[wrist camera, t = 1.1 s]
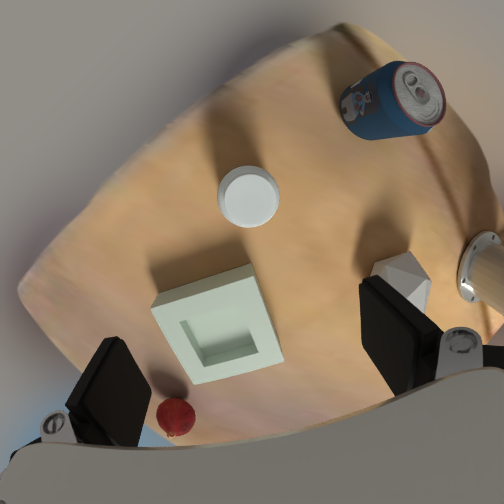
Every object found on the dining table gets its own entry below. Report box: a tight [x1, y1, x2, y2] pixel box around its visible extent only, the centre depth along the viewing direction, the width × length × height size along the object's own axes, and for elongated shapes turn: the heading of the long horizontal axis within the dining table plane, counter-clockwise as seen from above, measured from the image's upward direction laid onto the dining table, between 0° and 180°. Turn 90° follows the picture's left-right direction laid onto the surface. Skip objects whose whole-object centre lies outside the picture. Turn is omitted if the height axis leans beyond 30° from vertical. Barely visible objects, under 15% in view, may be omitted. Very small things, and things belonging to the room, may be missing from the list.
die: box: [370, 251, 432, 313], centre depth 30 cm, size 8×9×10 cm
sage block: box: [150, 263, 284, 385], centre depth 32 cm, size 12×12×4 cm
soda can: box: [340, 61, 446, 140], centre depth 22 cm, size 7×7×12 cm
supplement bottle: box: [217, 166, 280, 228], centre depth 25 cm, size 5×5×10 cm
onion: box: [156, 398, 196, 439], centre depth 35 cm, size 6×6×8 cm
